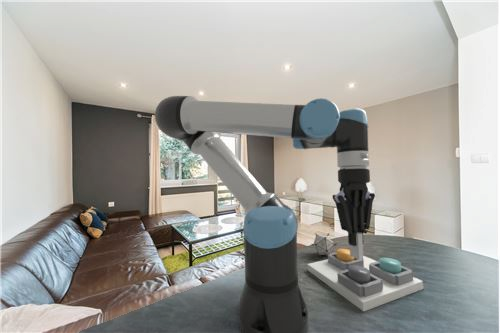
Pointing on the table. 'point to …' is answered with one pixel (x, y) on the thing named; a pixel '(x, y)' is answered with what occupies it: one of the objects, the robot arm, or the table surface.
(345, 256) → the orange button
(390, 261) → the teal button
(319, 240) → the grey spiky polyhedron
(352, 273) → the charcoal button
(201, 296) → the table surface
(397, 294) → the panel
